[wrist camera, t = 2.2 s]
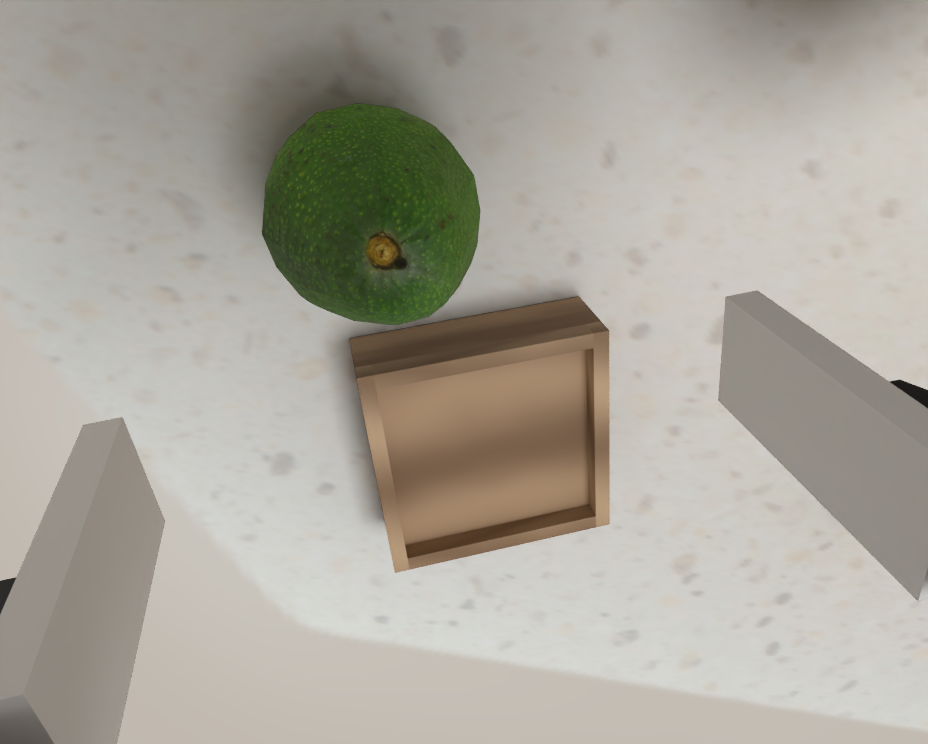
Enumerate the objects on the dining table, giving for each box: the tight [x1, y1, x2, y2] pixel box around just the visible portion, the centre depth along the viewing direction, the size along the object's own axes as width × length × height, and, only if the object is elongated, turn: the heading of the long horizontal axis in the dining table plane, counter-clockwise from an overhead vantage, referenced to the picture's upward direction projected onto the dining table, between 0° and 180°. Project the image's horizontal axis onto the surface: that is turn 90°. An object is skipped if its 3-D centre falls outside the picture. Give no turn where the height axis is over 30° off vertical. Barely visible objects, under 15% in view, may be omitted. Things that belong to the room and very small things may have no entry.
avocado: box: [262, 103, 480, 325], centre depth 27 cm, size 8×8×12 cm
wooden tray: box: [350, 297, 609, 573], centre depth 37 cm, size 12×12×4 cm
